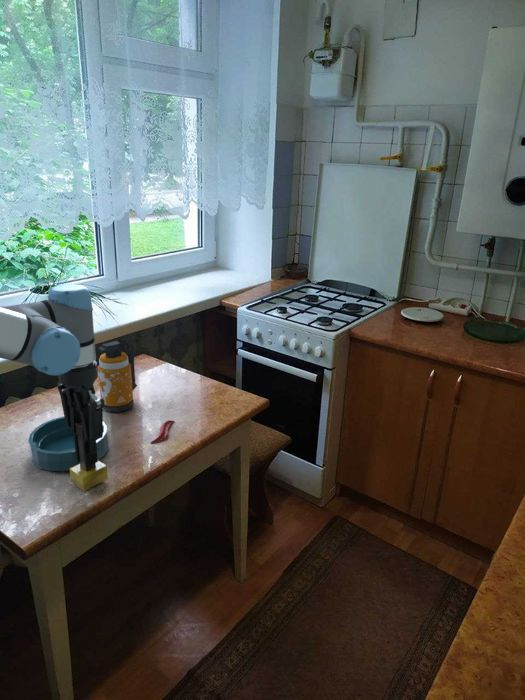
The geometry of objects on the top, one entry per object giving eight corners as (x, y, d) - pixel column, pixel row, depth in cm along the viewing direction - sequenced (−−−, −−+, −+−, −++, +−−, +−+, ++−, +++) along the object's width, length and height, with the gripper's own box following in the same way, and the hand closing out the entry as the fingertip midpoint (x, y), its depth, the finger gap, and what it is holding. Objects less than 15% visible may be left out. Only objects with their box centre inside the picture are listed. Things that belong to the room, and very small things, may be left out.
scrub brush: (84, 491, 106) (77, 432, 101) (70, 482, 109) (64, 424, 104) (107, 478, 111) (102, 421, 105) (94, 470, 113) (89, 414, 108)
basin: (58, 483, 110) (55, 462, 108) (17, 454, 119) (14, 434, 117) (123, 450, 123) (121, 431, 121) (82, 426, 133) (80, 408, 130)
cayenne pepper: (157, 445, 125) (157, 439, 124) (142, 441, 127) (142, 434, 126) (184, 424, 135) (184, 418, 134) (170, 420, 137) (170, 414, 136)
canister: (95, 406, 143) (88, 341, 136) (127, 394, 151) (123, 332, 144) (113, 417, 138) (107, 350, 130) (145, 403, 146) (142, 340, 138)
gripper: (116, 366, 98) (123, 467, 106) (71, 347, 107) (81, 441, 115) (83, 378, 92) (93, 483, 101) (38, 357, 101) (51, 455, 109)
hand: (87, 461), depth 108 cm, fingers closed on scrub brush, 2 cm apart
